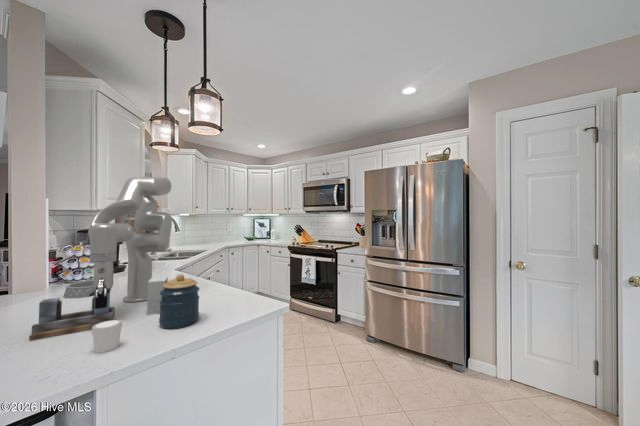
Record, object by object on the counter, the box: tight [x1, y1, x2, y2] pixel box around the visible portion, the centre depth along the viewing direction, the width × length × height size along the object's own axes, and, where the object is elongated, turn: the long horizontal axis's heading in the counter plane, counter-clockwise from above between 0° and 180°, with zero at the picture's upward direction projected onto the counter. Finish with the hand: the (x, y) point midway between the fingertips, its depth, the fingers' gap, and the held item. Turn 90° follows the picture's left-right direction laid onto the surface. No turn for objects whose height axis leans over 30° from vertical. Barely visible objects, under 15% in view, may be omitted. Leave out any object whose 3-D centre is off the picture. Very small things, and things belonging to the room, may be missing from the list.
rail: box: [28, 297, 116, 342], centre depth 90 cm, size 20×12×10 cm, turn 126°
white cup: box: [91, 319, 123, 354], centre depth 75 cm, size 7×7×7 cm
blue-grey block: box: [91, 291, 111, 315], centre depth 93 cm, size 5×4×9 cm
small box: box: [146, 276, 169, 315], centre depth 106 cm, size 8×6×13 cm
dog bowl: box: [62, 279, 112, 299], centre depth 131 cm, size 17×18×5 cm
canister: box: [158, 273, 200, 330], centre depth 94 cm, size 13×13×18 cm
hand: (102, 304), depth 94 cm, fingers open, 9 cm apart
